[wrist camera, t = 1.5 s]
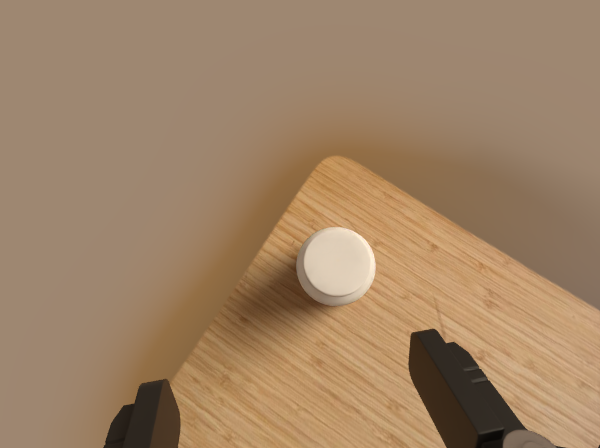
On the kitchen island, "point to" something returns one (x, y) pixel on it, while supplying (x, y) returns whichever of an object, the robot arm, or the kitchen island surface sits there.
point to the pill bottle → (335, 266)
